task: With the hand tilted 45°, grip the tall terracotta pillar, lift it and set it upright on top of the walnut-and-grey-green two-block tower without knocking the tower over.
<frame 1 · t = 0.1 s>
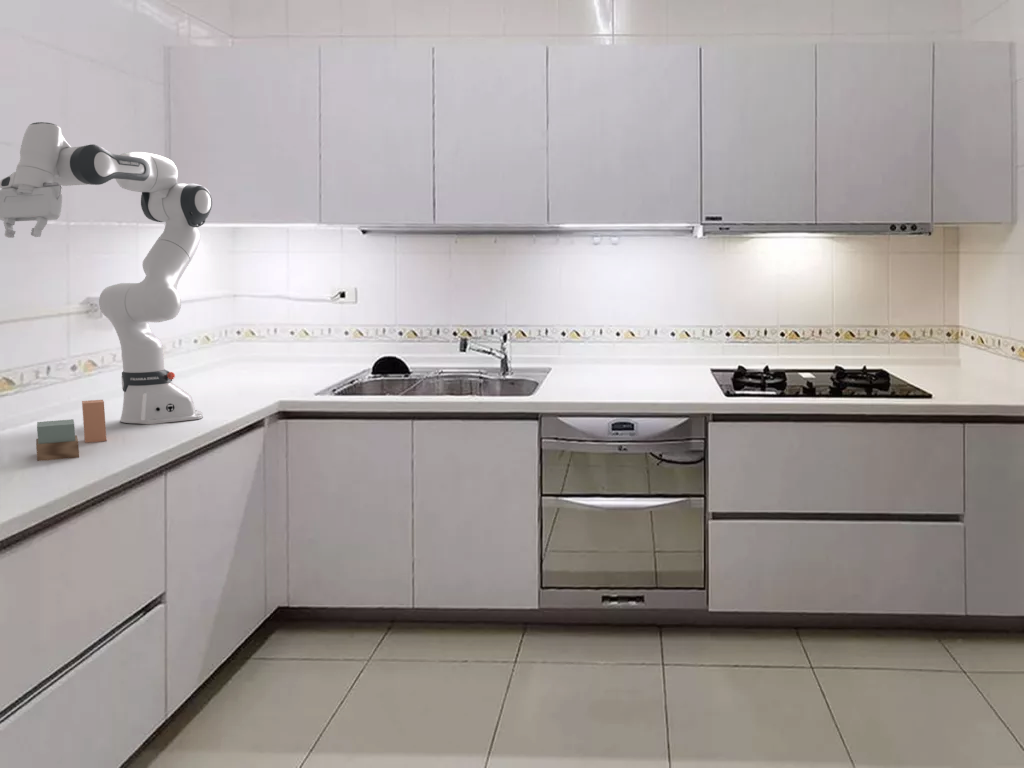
hand: (22, 236, 261), 52 cm above the worktop, tool tilted 20°, fingers open, 8 cm apart
pillar: (95, 440, 268), on the worktop
tower top: (56, 439, 249), point 4 cm above the worktop, touching tower base
tower base: (58, 456, 249), on the worktop, touching tower top
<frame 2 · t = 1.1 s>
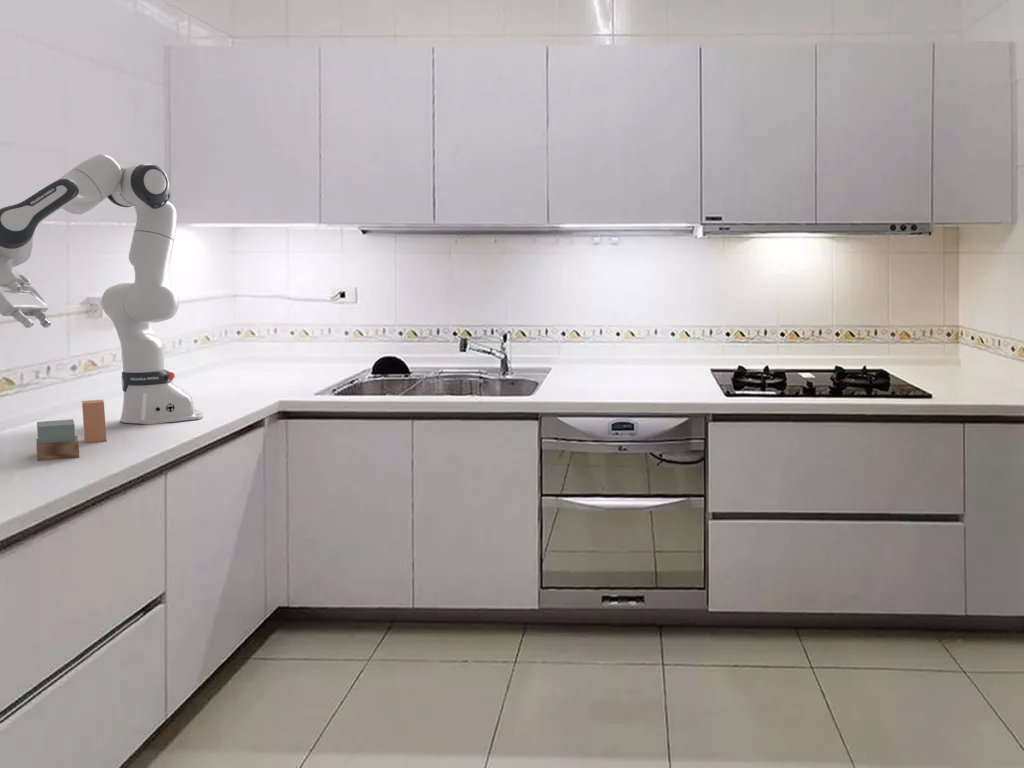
hand: (39, 326, 266), 29 cm above the worktop, tool tilted 40°, fingers open, 8 cm apart
nothing on the worktop moved.
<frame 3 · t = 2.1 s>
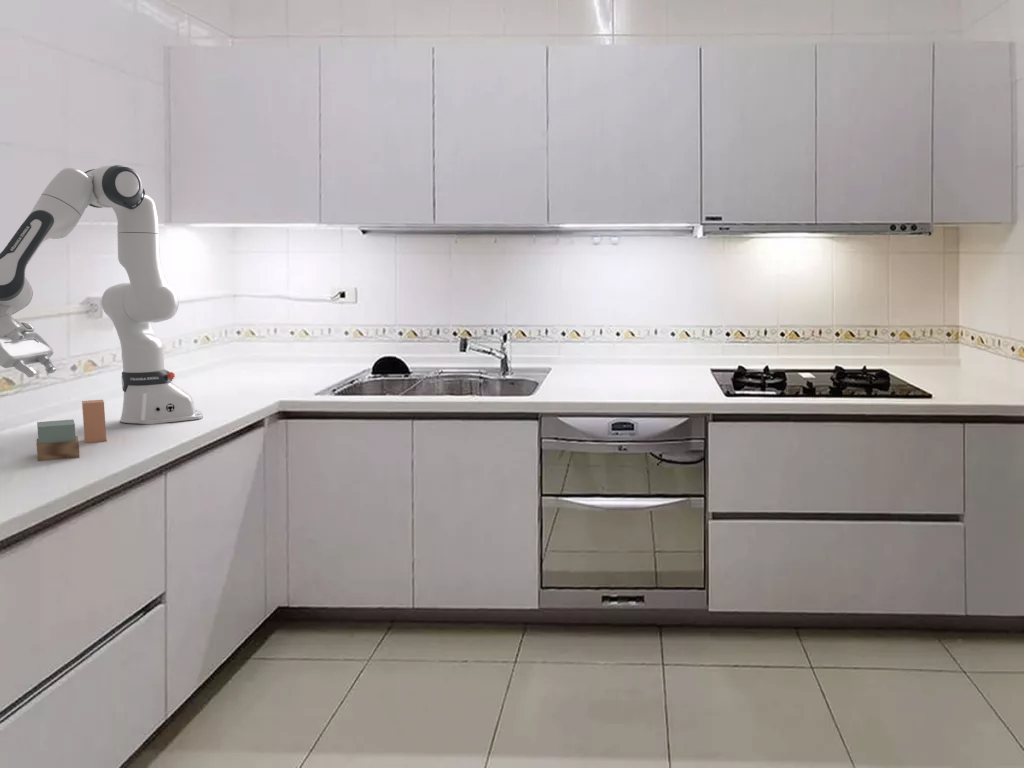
hand: (43, 373, 267), 17 cm above the worktop, tool tilted 45°, fingers open, 8 cm apart
nothing on the worktop moved.
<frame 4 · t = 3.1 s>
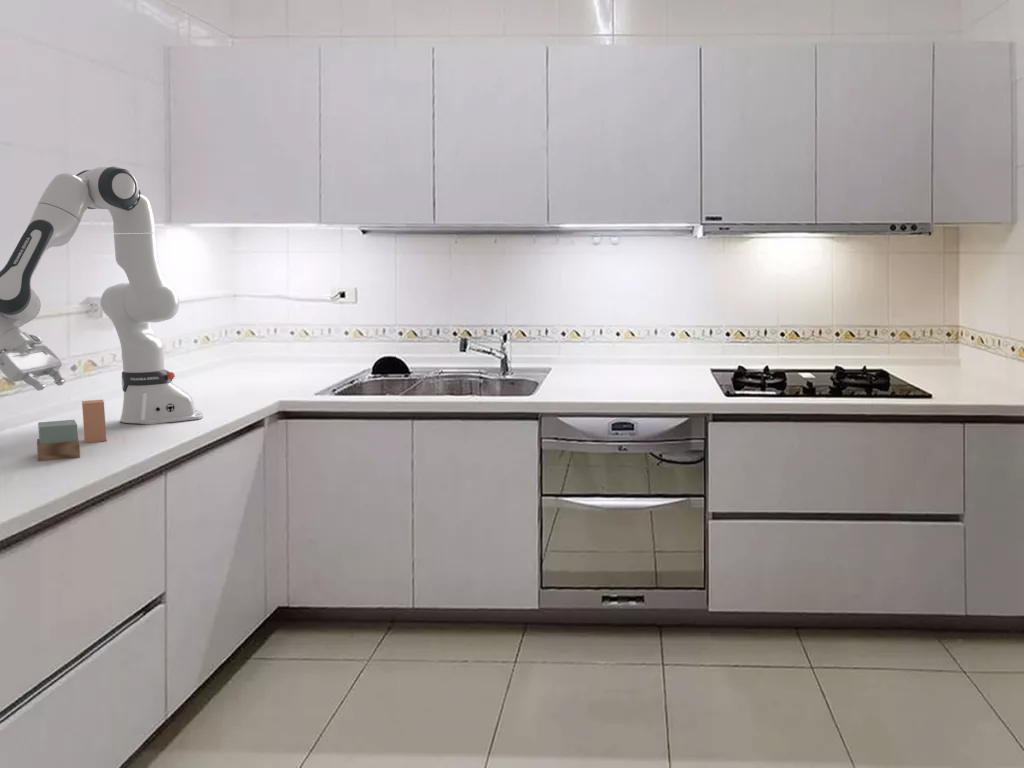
hand: (52, 386, 268), 14 cm above the worktop, tool tilted 45°, fingers open, 8 cm apart
nothing on the worktop moved.
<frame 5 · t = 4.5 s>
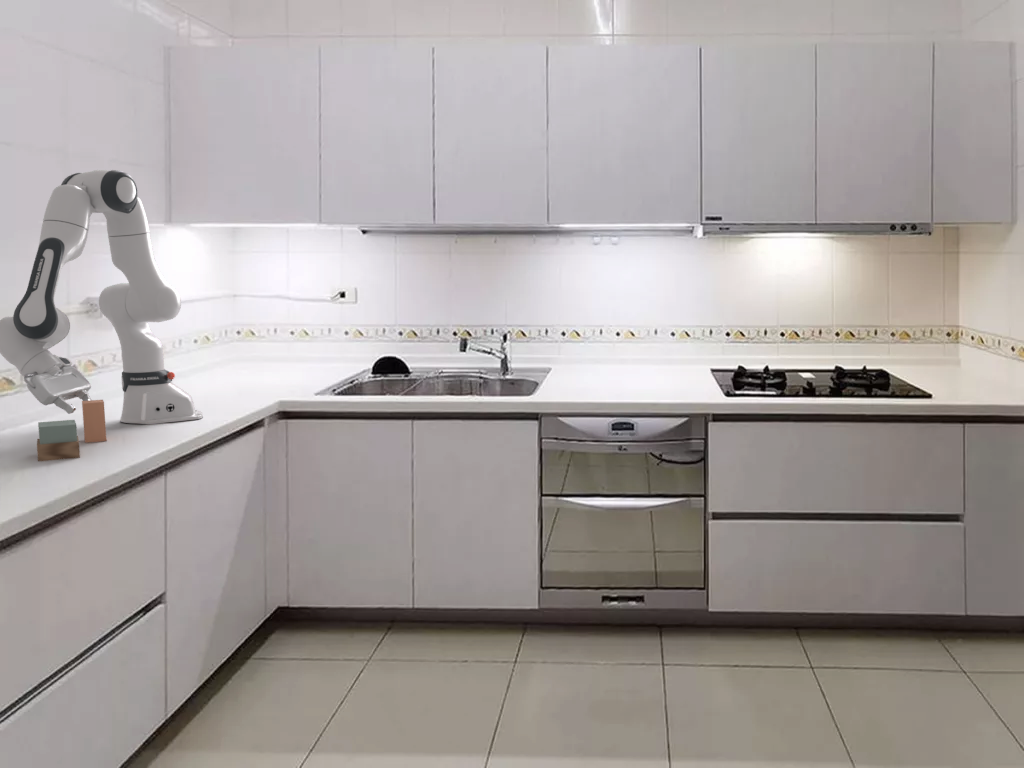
hand: (82, 408, 268), 8 cm above the worktop, tool tilted 45°, fingers open, 8 cm apart
nothing on the worktop moved.
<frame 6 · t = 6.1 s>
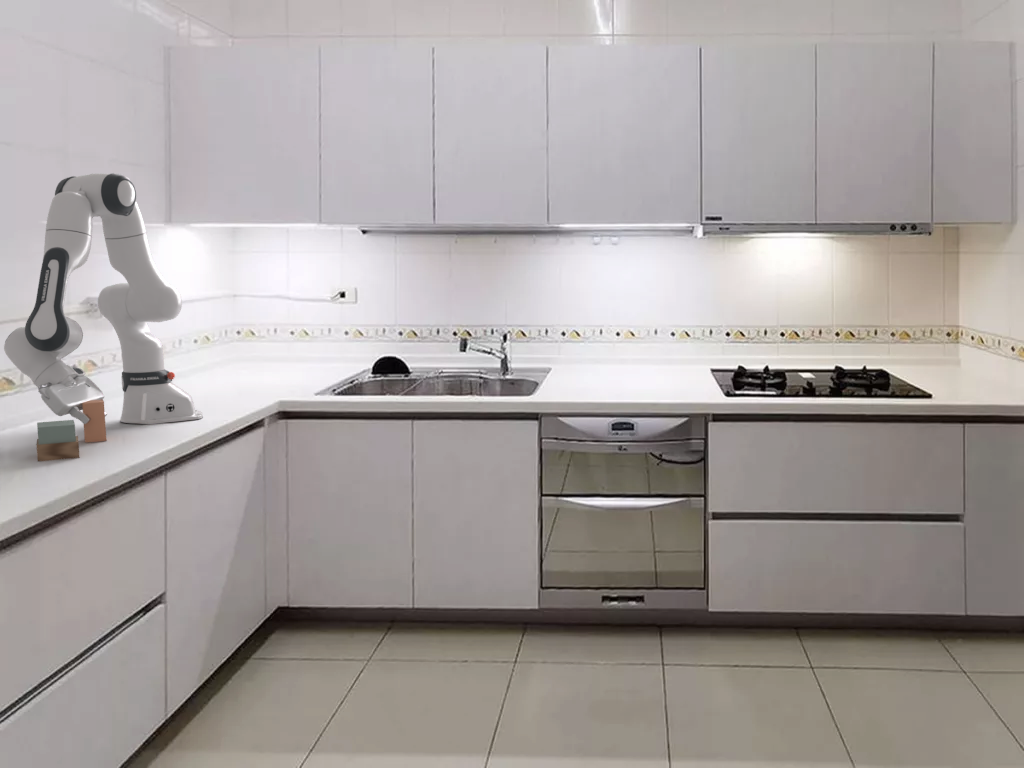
hand: (96, 419, 268), 5 cm above the worktop, tool tilted 45°, fingers closed on pillar, 7 cm apart
pillar: (95, 440, 268), on the worktop, touching gripper
everything else where it was.
when the fingers open (15 cm above the worktop, at t = 12.6 s): pillar drops 2 cm, resting on tower top.
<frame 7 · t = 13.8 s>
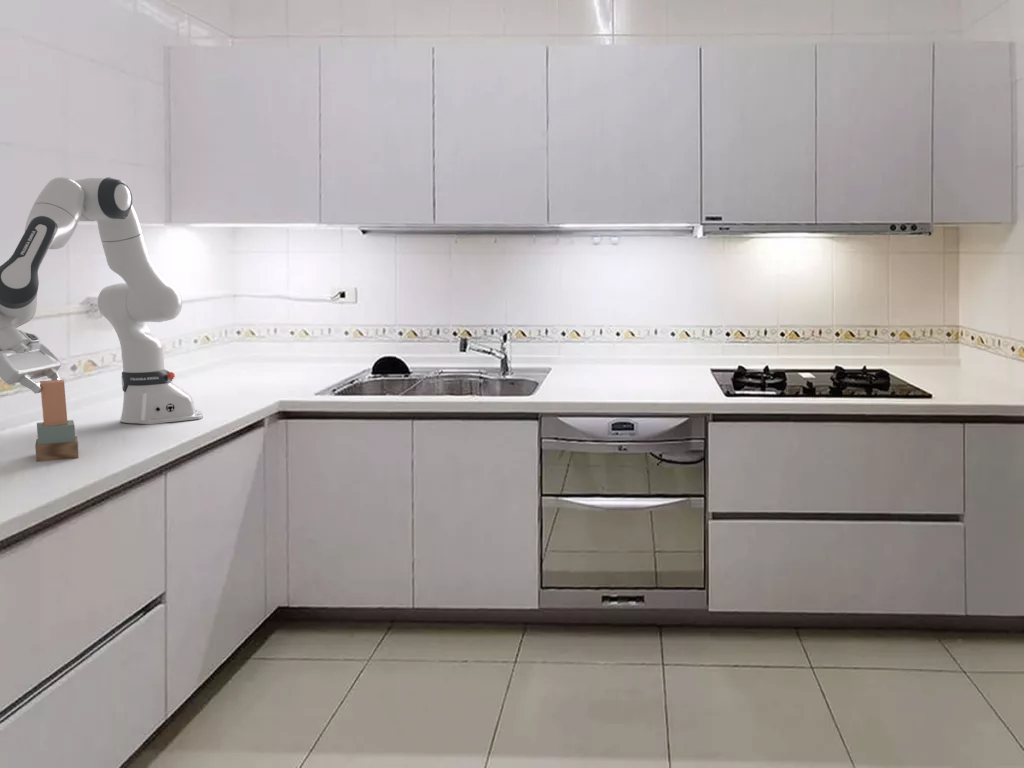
hand: (50, 388, 247), 16 cm above the worktop, tool tilted 45°, fingers open, 8 cm apart
pillar: (55, 423, 248), point 8 cm above the worktop, touching gripper, tower top
tower top: (56, 440, 248), point 4 cm above the worktop, touching pillar, tower base
everything else where it was.
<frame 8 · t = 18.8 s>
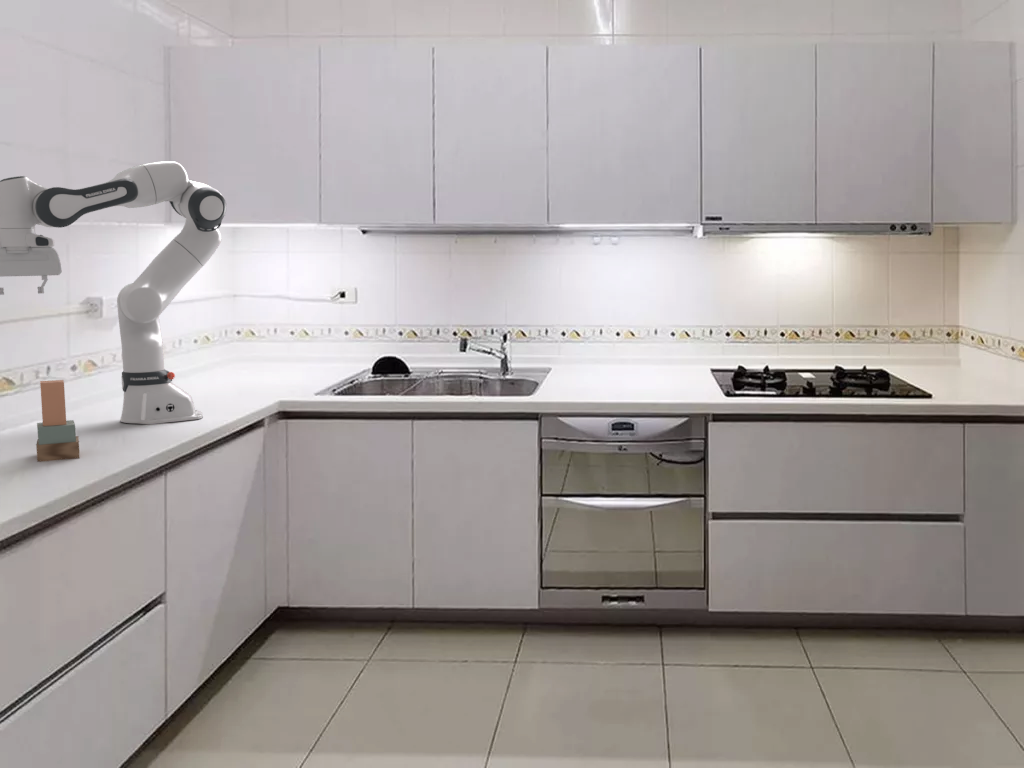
hand: (21, 294, 273), 37 cm above the worktop, tool pointing down, fingers open, 8 cm apart
pillar: (54, 423, 247), point 8 cm above the worktop, touching tower top
at the end: pillar 0.4 cm off-centre on the tower top, point 4.0 cm above the tower top's base; tower top 0.3 cm off-centre on the tower base, point 4.0 cm above the tower base's base; pillar tilted 0° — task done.
